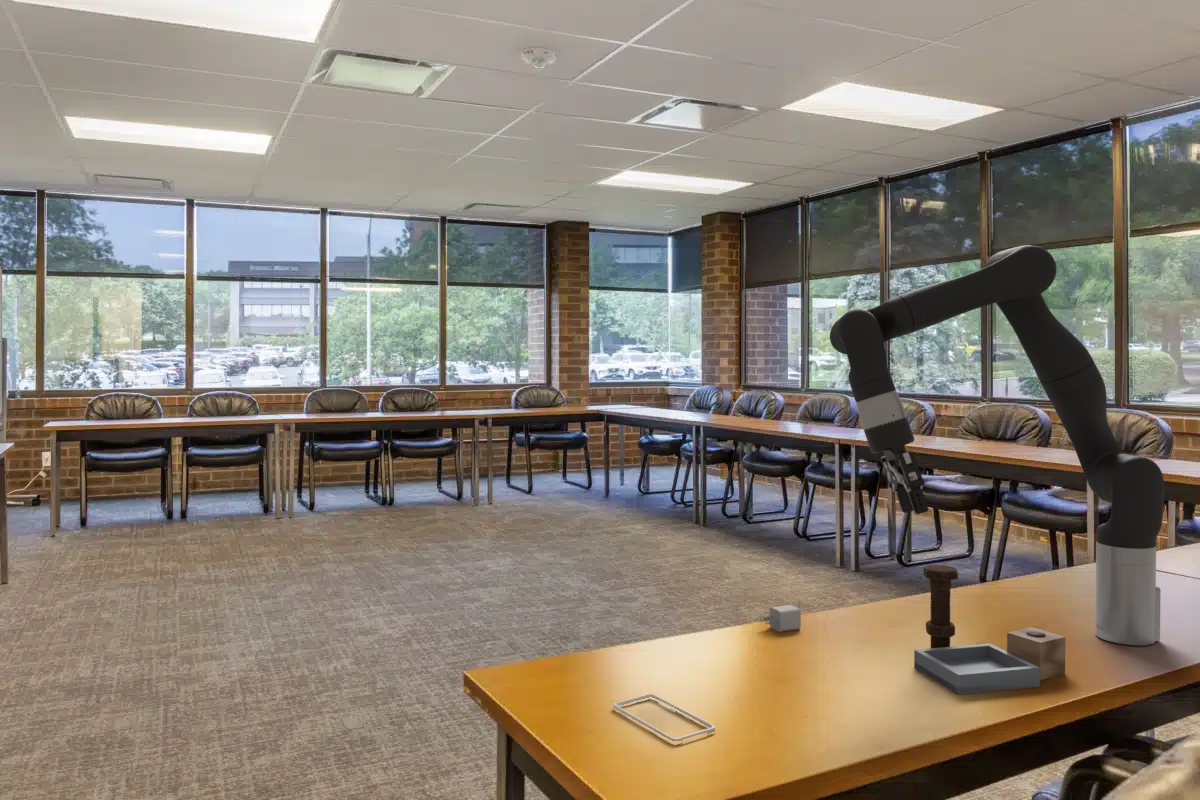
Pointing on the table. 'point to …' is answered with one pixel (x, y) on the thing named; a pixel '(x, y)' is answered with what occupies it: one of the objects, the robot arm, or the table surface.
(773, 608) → the usb wall charger
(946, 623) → the bolt
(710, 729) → the phone case
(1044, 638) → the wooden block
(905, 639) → the table surface
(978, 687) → the tray
